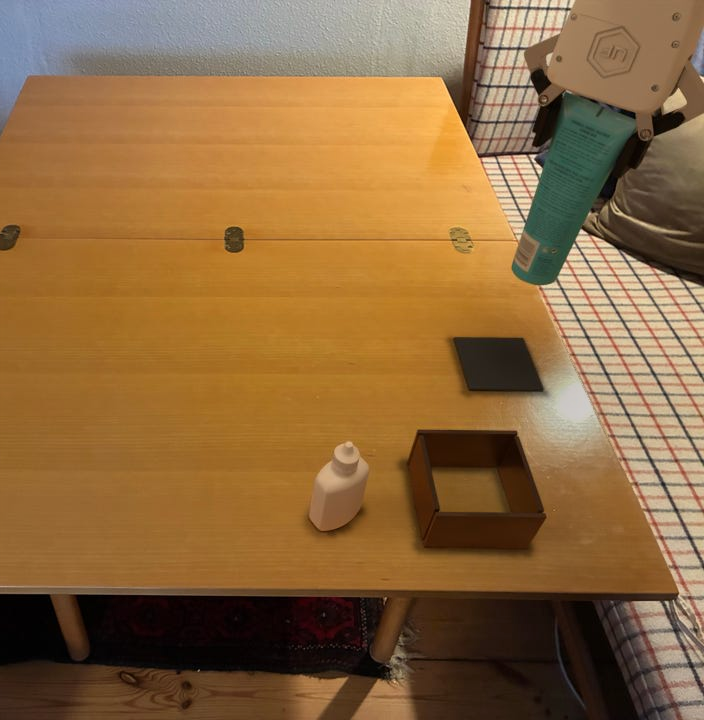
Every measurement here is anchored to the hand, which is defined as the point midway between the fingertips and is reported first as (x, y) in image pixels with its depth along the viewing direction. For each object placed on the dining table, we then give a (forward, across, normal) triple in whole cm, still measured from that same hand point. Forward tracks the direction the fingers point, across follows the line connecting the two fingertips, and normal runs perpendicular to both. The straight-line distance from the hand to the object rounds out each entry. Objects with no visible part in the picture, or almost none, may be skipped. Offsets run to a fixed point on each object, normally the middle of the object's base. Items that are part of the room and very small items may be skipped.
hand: (581, 155), depth 66 cm
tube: (+14, 0, 0) cm, 14 cm away
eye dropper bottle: (+29, -2, -31) cm, 43 cm away
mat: (+29, 0, 0) cm, 29 cm away
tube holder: (+29, +8, -21) cm, 37 cm away
